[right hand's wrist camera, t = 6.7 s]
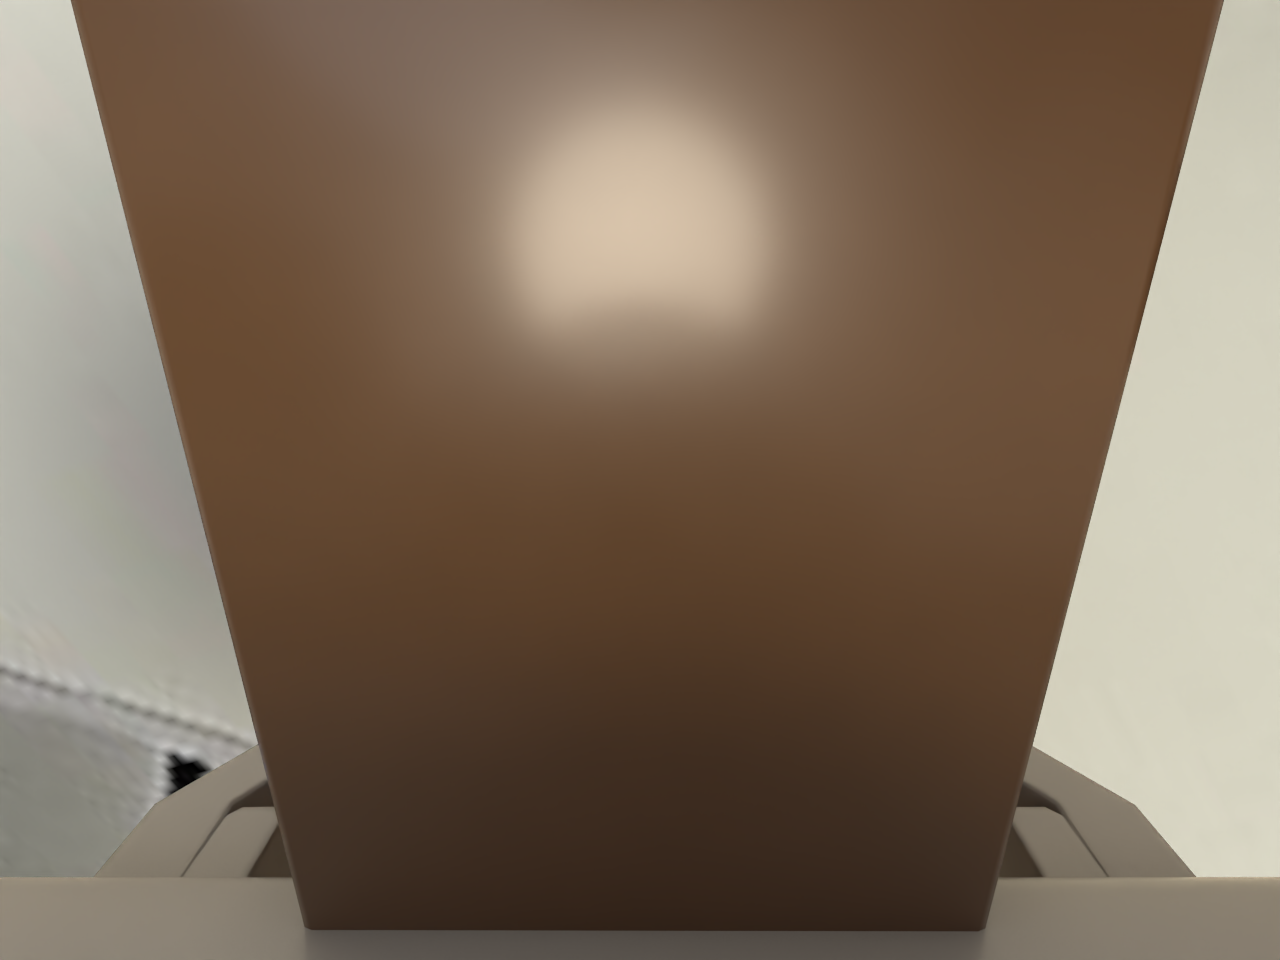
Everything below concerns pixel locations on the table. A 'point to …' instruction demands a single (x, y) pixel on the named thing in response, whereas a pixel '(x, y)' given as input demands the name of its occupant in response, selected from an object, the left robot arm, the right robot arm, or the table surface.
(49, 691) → the table surface
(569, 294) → the bar
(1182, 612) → the table surface
